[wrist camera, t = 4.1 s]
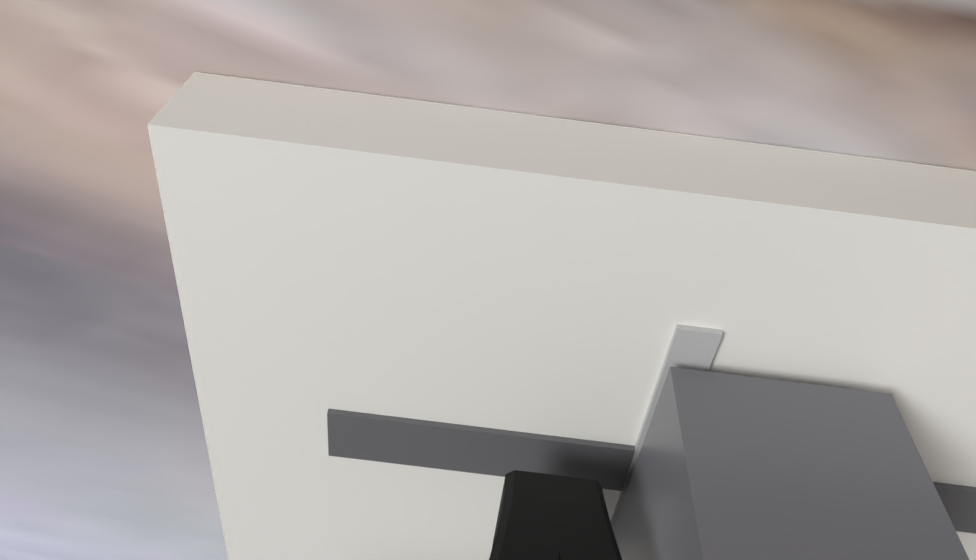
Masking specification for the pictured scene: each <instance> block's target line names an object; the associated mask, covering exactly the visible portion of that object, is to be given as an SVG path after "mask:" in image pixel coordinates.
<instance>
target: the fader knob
mask: <svg viewBox="0 0 976 560" xmlns="http://www.w3.org/2000/svg"><path fill="white" fill-rule="evenodd" d="M613 532H614V535H615V538H616V542H617V545H618V548H619V551H620V554H621V557H622V560H969V558H968V556H967V554H966V551H965V549H964V547H963V545H962V543H961V541H960V539H959V537H958V534H957V532H956V530H955V528H954V526H953V524H952V522H951V520H950V517H949V515H948V513H947V511H946V509H945V507H944V505H943V503H942V500H941V498H940V496H939V494H938V492H937V490H936V488H935V486H934V483H933V481H932V479H931V477H930V475H929V473H928V471H927V469H926V466H925V464H924V462H923V460H922V458H921V456H920V454H919V452H918V449H917V447H916V445H915V443H914V441H913V439H912V437H911V435H910V432H909V430H908V428H907V426H906V424H905V422H904V420H903V418H902V415H901V413H900V411H899V409H898V407H897V405H896V403H895V401H894V398H893V396H892V394H889V393H881V392H873V391H864V390H856V389H848V388H840V387H832V386H824V385H815V384H807V383H799V382H791V381H783V380H775V379H767V378H758V377H750V376H742V375H734V374H726V373H718V372H710V371H701V370H693V369H685V368H677V367H670V368H669V371H668V374H667V377H666V380H665V382H664V385H663V388H662V391H661V394H660V397H659V399H658V402H657V405H656V408H655V411H654V414H653V416H652V419H651V422H650V425H649V428H648V431H647V433H646V436H645V439H644V442H643V445H642V447H641V450H640V453H639V456H638V459H637V462H636V464H635V467H634V470H633V473H632V476H631V479H630V481H629V484H628V487H627V490H626V493H625V496H624V498H623V501H622V504H621V507H620V510H619V512H618V515H617V518H616V521H615V524H614V527H613Z"/></svg>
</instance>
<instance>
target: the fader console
mask: <svg viewBox="0 0 976 560" xmlns="http://www.w3.org/2000/svg"><path fill="white" fill-rule="evenodd" d="M147 126H148V131H149V137H150V142H151V147H152V153H153V158H154V164H155V169H156V174H157V180H158V185H159V190H160V196H161V201H162V206H163V212H164V217H165V223H166V228H167V233H168V239H169V244H170V249H171V255H172V260H173V265H174V271H175V276H176V282H177V287H178V292H179V298H180V303H181V308H182V314H183V319H184V324H185V330H186V335H187V341H188V346H189V351H190V357H191V362H192V367H193V373H194V378H195V383H196V389H197V394H198V400H199V405H200V410H201V416H202V421H203V426H204V432H205V437H206V442H207V448H208V453H209V459H210V464H211V469H212V475H213V480H214V485H215V491H216V496H217V501H218V507H219V512H220V518H221V523H222V528H223V534H224V539H225V544H226V550H227V555H228V560H489V558H490V554H491V551H492V545H493V539H494V534H495V528H496V523H497V518H498V512H499V507H500V502H501V496H502V491H503V485H504V480H505V475H506V474H507V473H509V472H511V471H514V470H519V471H527V472H536V473H544V474H552V475H561V476H569V477H577V478H586V479H594V480H596V481H597V482H598V483H599V484H600V485H601V486H602V490H603V495H604V499H605V503H606V507H607V510H608V514H609V518H610V522H611V525H612V528H613V527H614V524H615V521H616V518H617V515H618V512H619V510H620V507H621V504H622V501H623V498H624V496H625V493H626V490H627V487H628V484H629V481H630V479H631V476H632V473H633V470H634V467H635V464H636V462H637V459H638V456H639V453H640V450H641V447H642V445H643V442H644V439H645V436H646V433H647V431H648V428H649V425H650V422H651V419H652V416H653V414H654V411H655V408H656V405H657V402H658V399H659V397H660V394H661V391H662V388H663V385H664V382H665V380H666V377H667V374H668V371H669V368H670V367H677V368H685V369H693V370H701V371H710V372H718V373H726V374H734V375H742V376H750V377H758V378H767V379H775V380H783V381H791V382H799V383H807V384H815V385H824V386H832V387H840V388H848V389H856V390H864V391H873V392H881V393H889V394H892V396H893V398H894V401H895V403H896V405H897V407H898V409H899V411H900V413H901V415H902V418H903V420H904V422H905V424H906V426H907V428H908V430H909V432H910V435H911V437H912V439H913V441H914V443H915V445H916V447H917V449H918V452H919V454H920V456H921V458H922V460H923V462H924V464H925V466H926V469H927V471H928V473H929V475H930V477H931V479H932V481H933V483H934V486H935V488H936V490H937V492H938V494H939V496H940V498H941V500H942V503H943V505H944V507H945V509H946V511H947V513H948V515H949V517H950V520H951V522H952V524H953V526H954V528H955V530H956V532H957V534H958V537H959V539H960V541H961V543H962V545H963V547H964V549H965V551H966V554H967V556H968V558H969V560H976V171H972V170H964V169H956V168H948V167H940V166H932V165H924V164H916V163H909V162H901V161H893V160H885V159H877V158H869V157H861V156H853V155H845V154H838V153H830V152H822V151H814V150H806V149H798V148H790V147H782V146H775V145H767V144H759V143H751V142H743V141H735V140H727V139H719V138H712V137H704V136H696V135H688V134H680V133H672V132H664V131H656V130H649V129H641V128H633V127H625V126H617V125H609V124H601V123H593V122H586V121H578V120H570V119H562V118H554V117H546V116H538V115H530V114H522V113H515V112H507V111H499V110H491V109H483V108H475V107H467V106H459V105H452V104H444V103H436V102H428V101H420V100H412V99H404V98H396V97H389V96H381V95H373V94H365V93H357V92H349V91H341V90H333V89H326V88H318V87H310V86H302V85H294V84H286V83H278V82H270V81H263V80H255V79H247V78H239V77H231V76H223V75H215V74H207V73H199V72H194V73H193V74H192V75H191V76H190V77H189V79H188V80H187V81H186V82H185V83H184V84H183V85H182V86H181V87H180V89H179V90H178V91H177V92H176V93H175V94H174V95H173V96H172V97H171V99H170V100H169V101H168V102H167V103H166V104H165V105H164V106H163V107H162V109H161V110H160V111H159V112H158V113H157V114H156V115H155V116H154V117H153V119H152V120H151V121H150V122H149V123H148V124H147Z"/></svg>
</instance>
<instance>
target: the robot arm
mask: <svg viewBox="0 0 976 560" xmlns="http://www.w3.org/2000/svg"><path fill="white" fill-rule="evenodd" d="M489 560H622V557H621V554H620V551H619V548H618V545H617V542H616V538H615V535H614V532H613V528H612V525H611V522H610V518H609V514H608V510H607V507H606V503H605V499H604V495H603V490H602V486H601V485H600V484H599V483H598V482H597V481H596V480H594V479H586V478H577V477H569V476H561V475H552V474H544V473H536V472H527V471H519V470H514V471H511V472H509V473H507V474H506V475H505V480H504V485H503V491H502V496H501V502H500V507H499V512H498V518H497V523H496V528H495V534H494V539H493V545H492V551H491V554H490V558H489Z"/></svg>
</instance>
